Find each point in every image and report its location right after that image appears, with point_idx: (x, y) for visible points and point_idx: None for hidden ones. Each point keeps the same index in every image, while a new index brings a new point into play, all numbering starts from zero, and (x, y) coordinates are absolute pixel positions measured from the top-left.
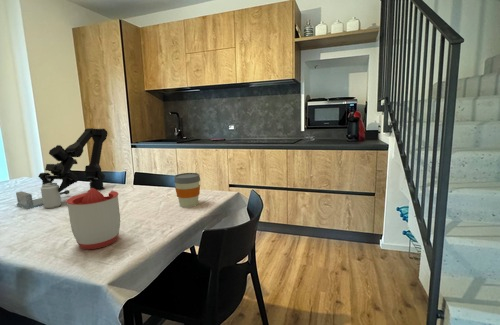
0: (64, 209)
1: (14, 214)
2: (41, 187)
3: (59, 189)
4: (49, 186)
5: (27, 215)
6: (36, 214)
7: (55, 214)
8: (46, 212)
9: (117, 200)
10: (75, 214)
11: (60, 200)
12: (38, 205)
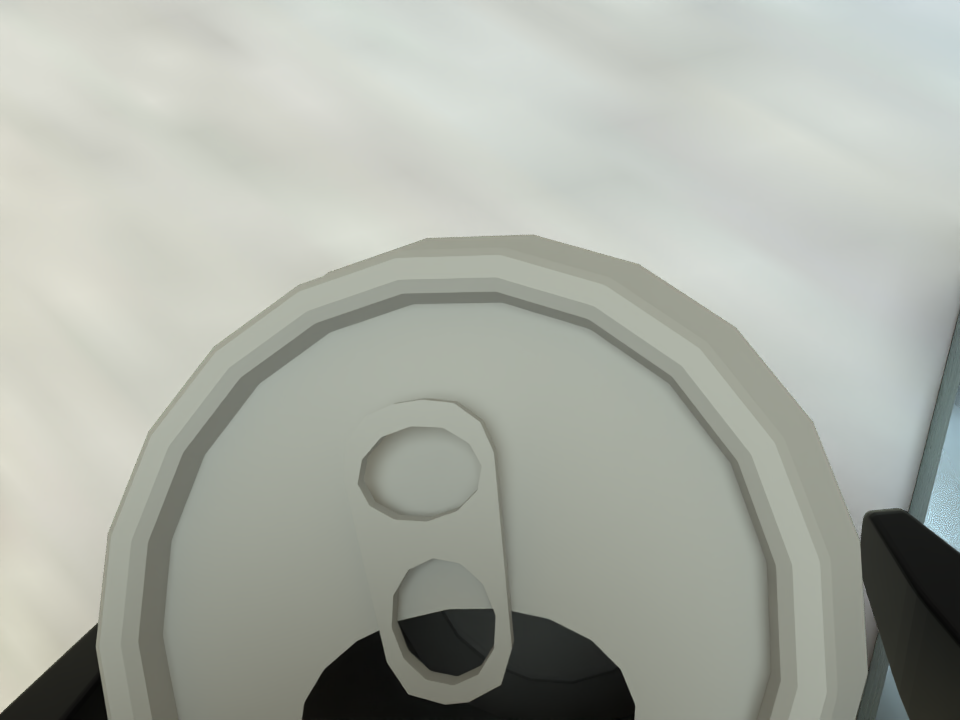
0: (148, 428)
1: (879, 5)
2: (666, 313)
3: (97, 629)
4: (230, 386)
5: (548, 37)
6: (431, 112)
7: (99, 191)
8: (344, 229)
9: None
10: None
11: (372, 638)
12: (925, 486)
